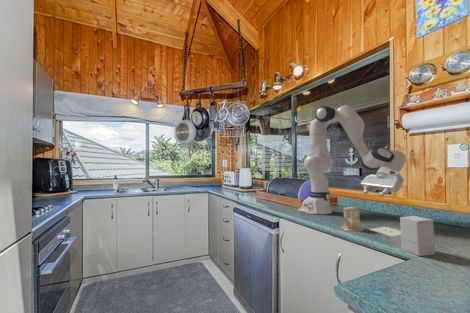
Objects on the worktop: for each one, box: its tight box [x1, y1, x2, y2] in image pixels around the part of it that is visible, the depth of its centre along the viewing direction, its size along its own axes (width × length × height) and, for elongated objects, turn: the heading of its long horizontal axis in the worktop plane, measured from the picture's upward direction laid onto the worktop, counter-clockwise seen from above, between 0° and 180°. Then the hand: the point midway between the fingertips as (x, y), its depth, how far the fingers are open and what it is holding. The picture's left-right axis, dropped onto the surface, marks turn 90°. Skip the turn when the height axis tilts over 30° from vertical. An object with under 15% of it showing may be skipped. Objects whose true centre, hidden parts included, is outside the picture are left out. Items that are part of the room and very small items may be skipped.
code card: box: [368, 226, 401, 237], centre depth 111 cm, size 12×12×1 cm
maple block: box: [343, 206, 361, 230], centre depth 117 cm, size 5×5×10 cm
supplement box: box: [399, 215, 436, 257], centre depth 87 cm, size 7×7×13 cm
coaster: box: [340, 225, 364, 233], centre depth 117 cm, size 10×10×1 cm
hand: (372, 194), depth 122 cm, fingers open, 8 cm apart
